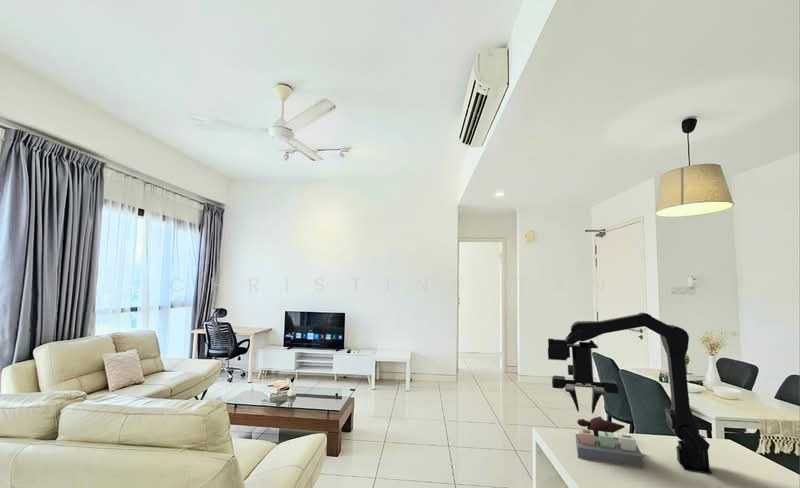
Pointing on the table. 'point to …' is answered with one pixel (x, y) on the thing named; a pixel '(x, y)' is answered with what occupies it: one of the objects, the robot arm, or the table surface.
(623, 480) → the table surface
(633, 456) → the keypad
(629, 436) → the key ivory
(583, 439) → the key coral
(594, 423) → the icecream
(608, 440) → the key sage
